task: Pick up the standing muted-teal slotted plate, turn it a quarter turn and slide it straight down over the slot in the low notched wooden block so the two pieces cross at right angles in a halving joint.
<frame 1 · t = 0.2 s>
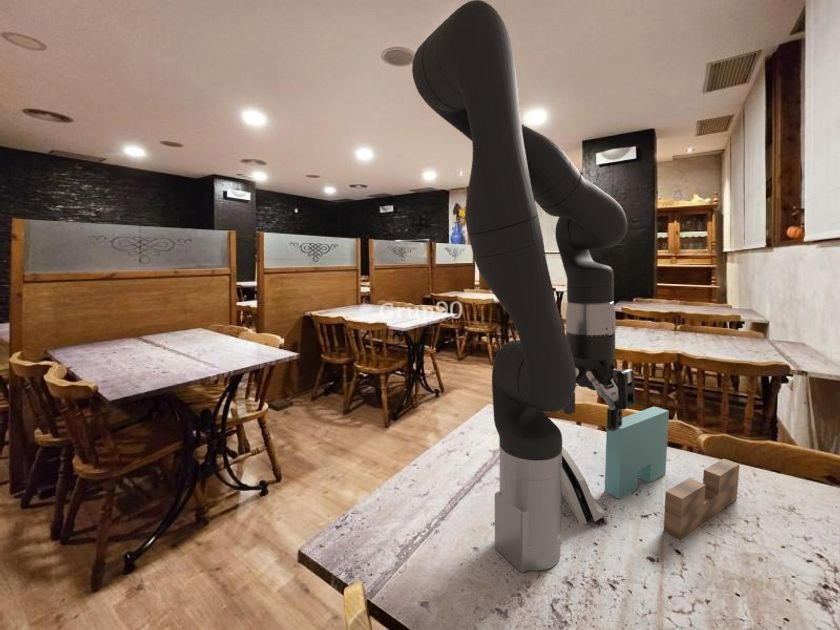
hand: (590, 420, 67), 18 cm above the table, tool pointing down, fingers open, 8 cm apart
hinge: (569, 498, 76), on the table
notched wooden block: (702, 514, 69), on the table
teal plate: (636, 482, 80), on the table
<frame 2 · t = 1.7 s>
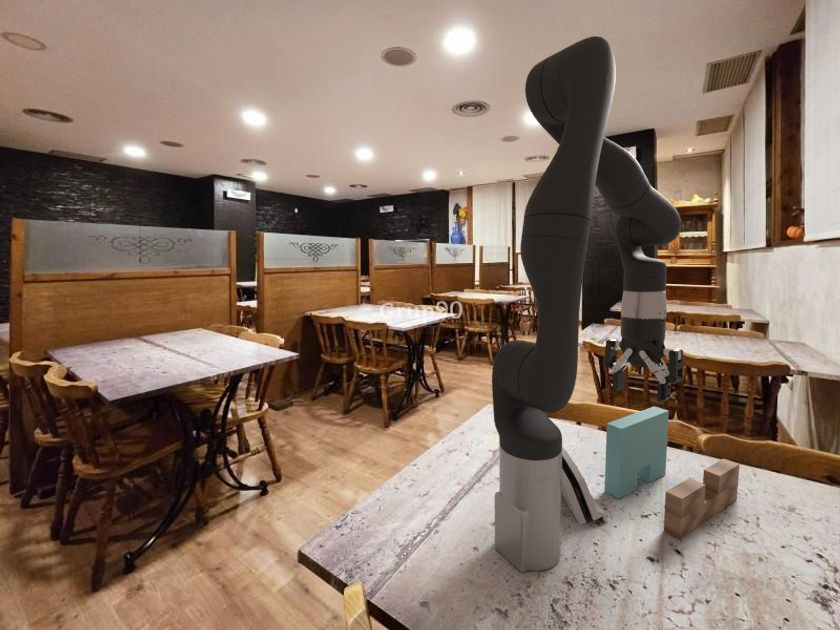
hand: (640, 395, 77), 18 cm above the table, tool pointing down, fingers open, 8 cm apart
nothing on the table moved.
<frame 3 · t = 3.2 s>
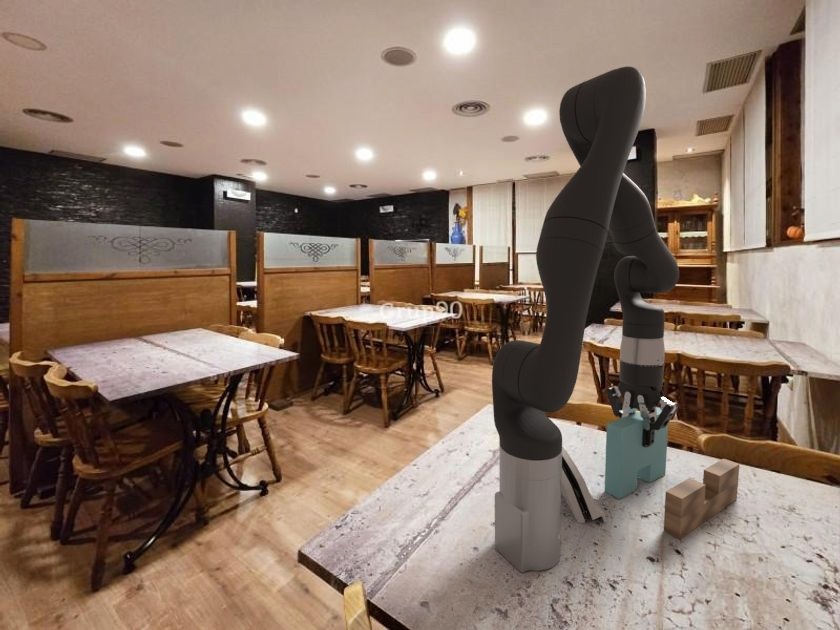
hand: (637, 442, 79), 9 cm above the table, tool pointing down, fingers closed on teal plate, 3 cm apart
teal plate: (636, 482, 80), on the table, touching gripper
everything else where it was.
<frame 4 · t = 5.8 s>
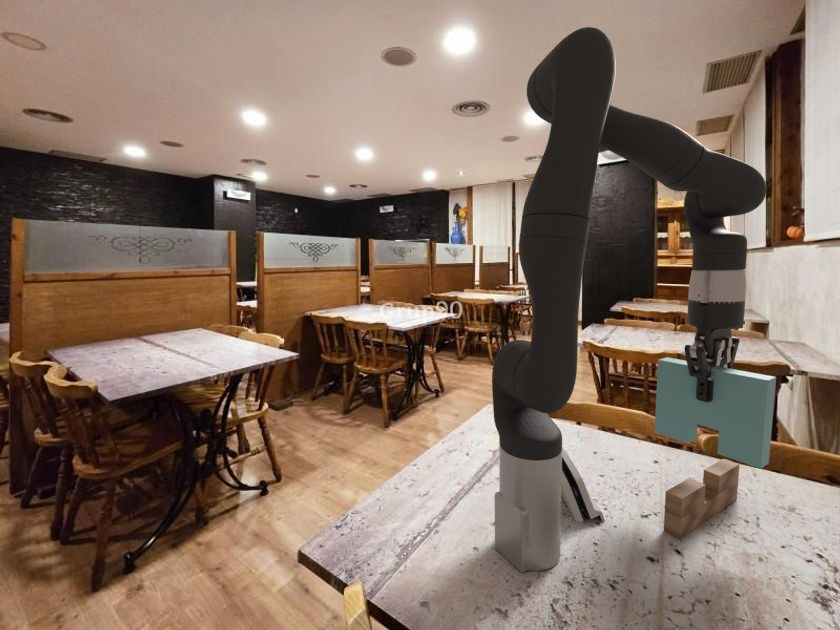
hand: (709, 398, 67), 21 cm above the table, tool pointing down, fingers closed on teal plate, 3 cm apart
teal plate: (706, 446, 68), point 13 cm above the table, touching gripper
everything else where it was.
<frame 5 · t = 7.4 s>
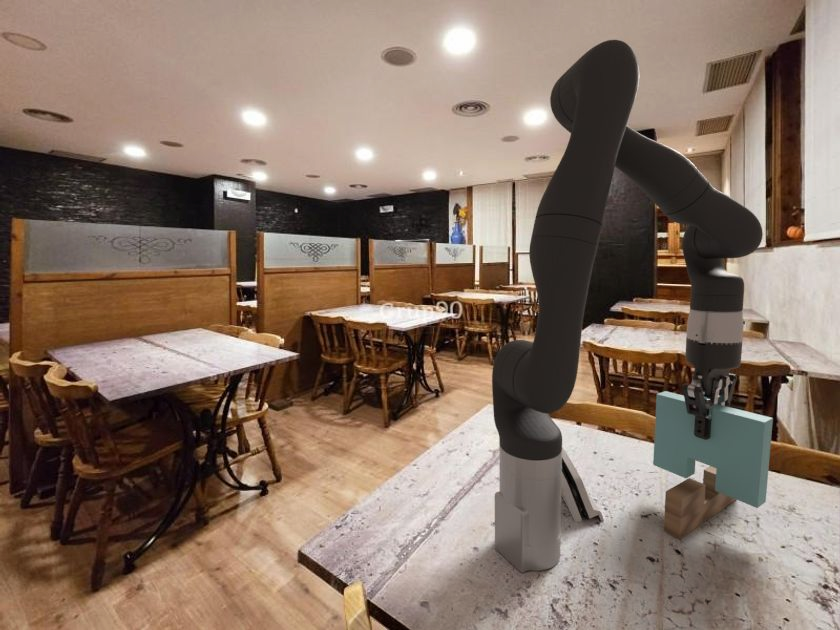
hand: (707, 434, 68), 15 cm above the table, tool pointing down, fingers closed on teal plate, 3 cm apart
teal plate: (704, 481, 69), point 6 cm above the table, touching gripper
everything else where it was.
when the fingers open (10 cm above the table, at t = 8.7 s): teal plate stays where it is, on the table.
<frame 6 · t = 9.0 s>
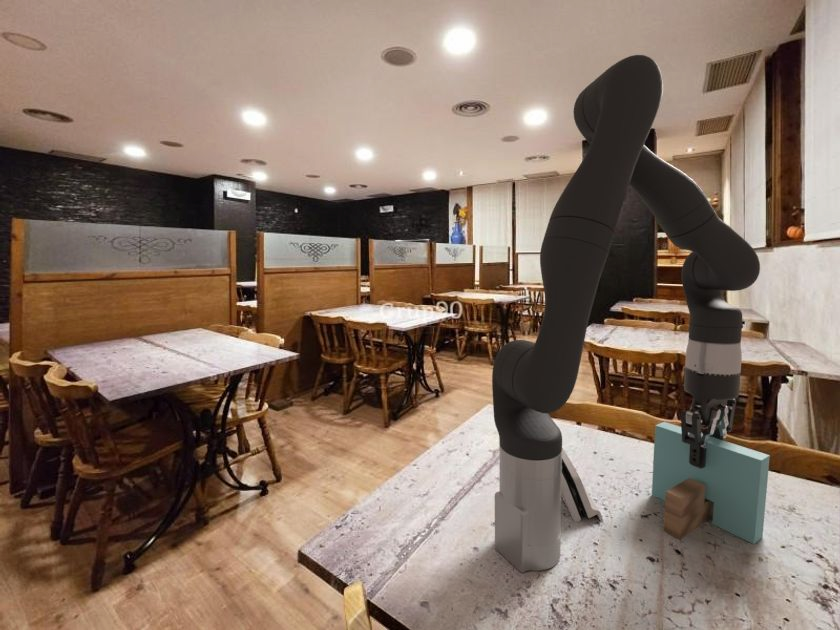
hand: (705, 460, 68), 10 cm above the table, tool pointing down, fingers open, 5 cm apart
teal plate: (702, 514, 69), on the table
everything else where it was.
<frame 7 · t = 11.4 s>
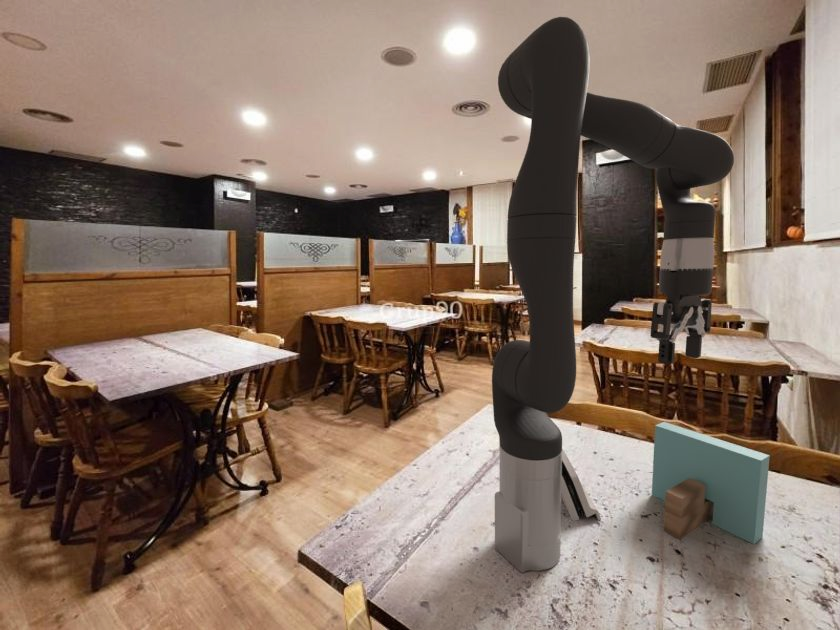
hand: (679, 360, 68), 27 cm above the table, tool pointing down, fingers open, 8 cm apart
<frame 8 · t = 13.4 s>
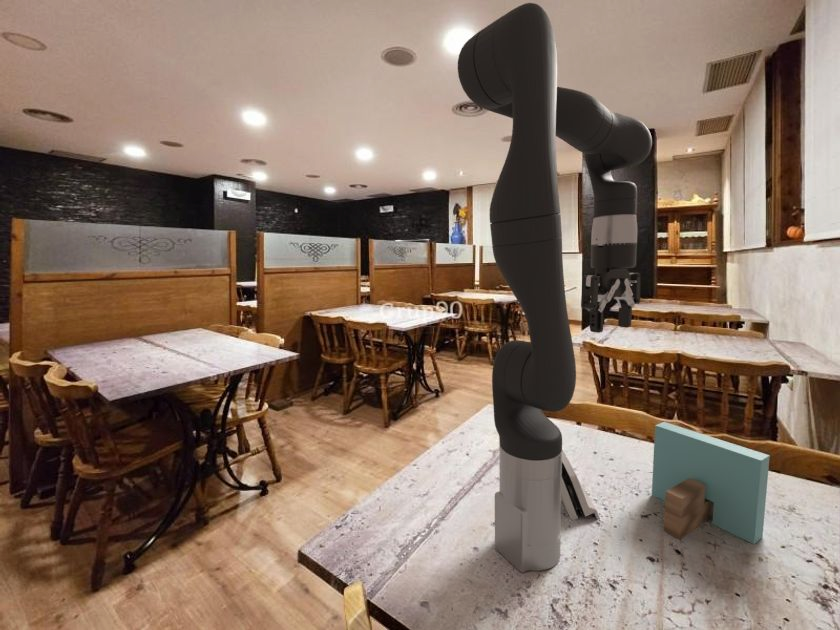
hand: (610, 329, 74), 32 cm above the table, tool pointing down, fingers open, 8 cm apart
at the end: teal plate 0.0 cm off-centre on the notched wooden block, point 0.0 cm above the notched wooden block's base; teal plate tilted 0°; the gripper is holding nothing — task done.
